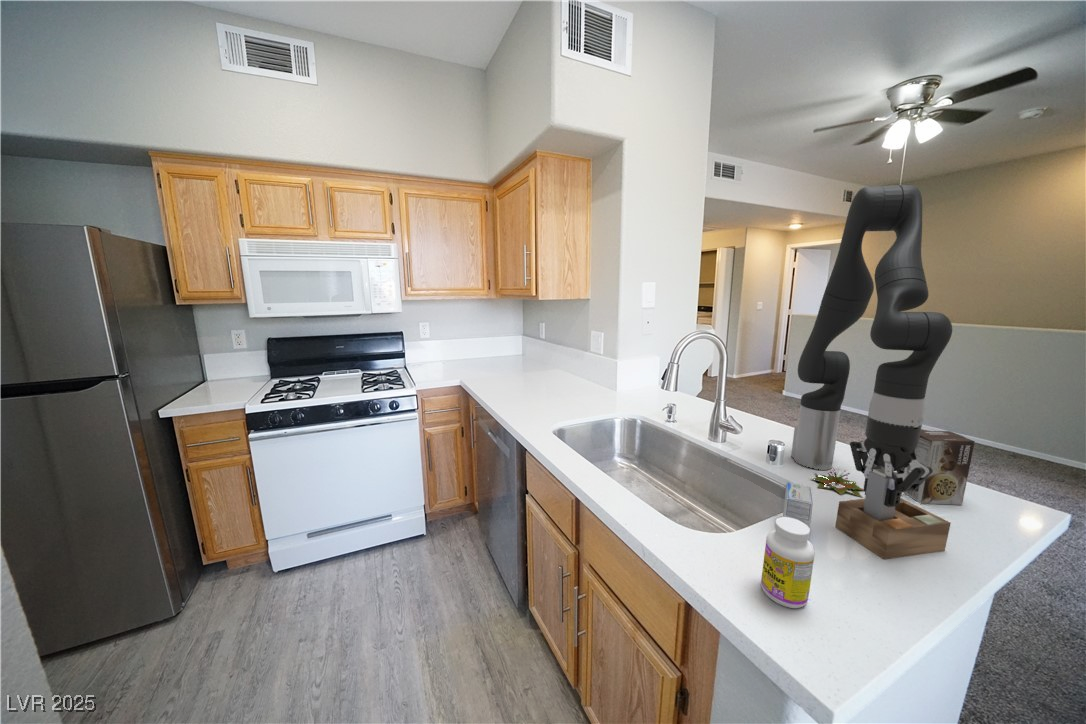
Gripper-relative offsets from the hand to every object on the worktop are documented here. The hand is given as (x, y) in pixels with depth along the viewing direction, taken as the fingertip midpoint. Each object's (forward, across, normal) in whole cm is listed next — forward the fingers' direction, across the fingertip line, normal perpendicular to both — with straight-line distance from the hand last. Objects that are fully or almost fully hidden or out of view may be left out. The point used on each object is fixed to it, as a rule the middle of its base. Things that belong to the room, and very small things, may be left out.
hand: (880, 500), depth 74 cm
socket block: (+9, 0, +4) cm, 10 cm away
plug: (+4, 0, 0) cm, 4 cm away
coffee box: (+9, -11, +30) cm, 33 cm away
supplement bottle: (+9, +9, -28) cm, 31 cm away
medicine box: (+9, -6, -12) cm, 17 cm away
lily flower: (+10, -20, +13) cm, 26 cm away
